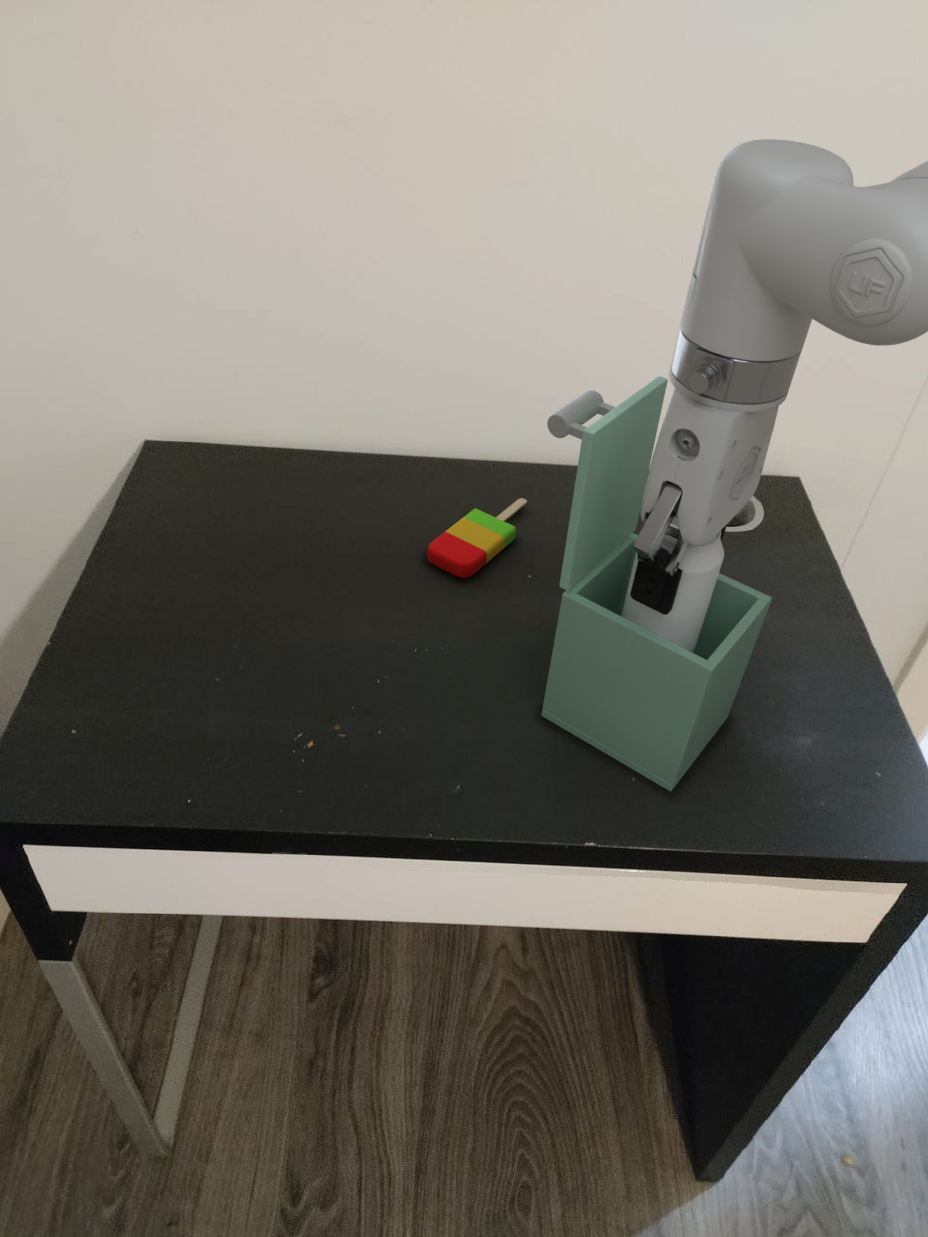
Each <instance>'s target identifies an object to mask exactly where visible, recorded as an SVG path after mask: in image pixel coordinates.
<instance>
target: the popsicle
mask: <svg viewBox="0 0 928 1237" xmlns="http://www.w3.org/2000/svg"><path fill="white" fill-rule="evenodd" d="M527 502H528V500H527V499H526V498H522V497H520V498H518V499H517V500H516V501H514V502H513V503H512V504H510V505H509V506H508V507H506V509H504V510H503V511H502V512H500V513H499V514H498V515H497V516H496V517H495V516H493V515H491V514H489V513H486V512H484V511H483V510H480V509H478V508H476V507H475V508H473V509H472V510H470V512H468V513H467V514H466V515H464V516H463V517H462V518H461V519H459V520H458V521H457V522H456V523H454V524H453V525H452V526H451V527H449V528H448V529H446V530H445V531H444V532H443V533H441V534H440V535H439V536H437V537H436V538H435V539H434V540H432V541H431V542H430V543H429V545H428V547H427V552H426V553H427V555H426V556H427V557H426V558H427V561H428V562H429V563H430V564H431V565H432V566H435V567H437V568H439V569H440V570H442V571H445V572H447V573H448V574H451V575H453V576H455V577H457V578H461V579H468V578H471V577H472V576H473V575H475V574H476V573H477V572H478V571H480V570H481V568H483V567H484V566H485V565H487V564H488V563H489V562H490V561H491V560H492V559H494V557H496V556H498V554H499V553H500V552H502V551H503V550H504V549H505V548H507V546H509V545H510V544H511V543H512V542H513V541H514V540H515V539H516V537H517V536H516V535H517V534H516V533H517V528H516V526H515V525H513V524H510V523H509V522H507V520H509V519H510V518H511V517H512V516H514V514H516V513H517V512H518V511H520V510H521V509H522V508H523V507H525V505H526V504H527Z"/></svg>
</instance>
